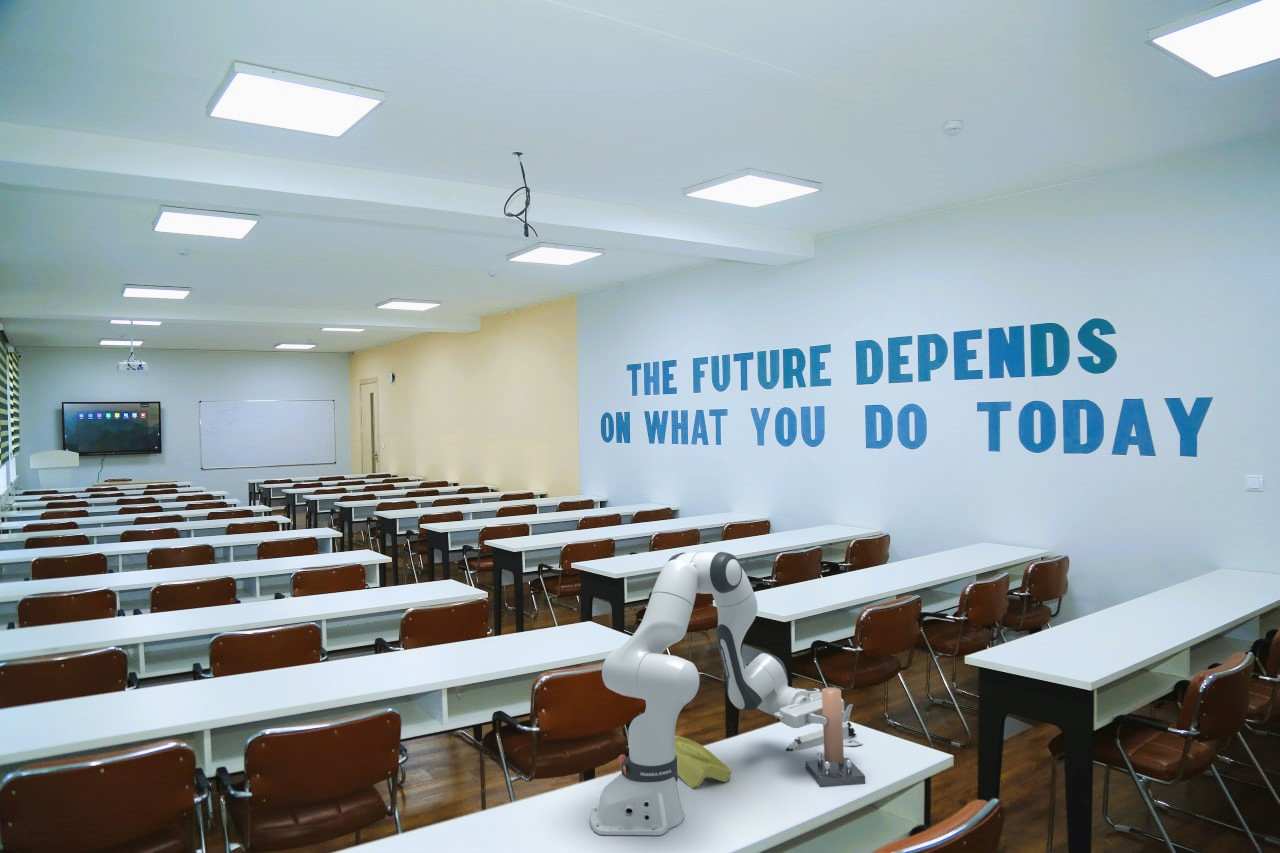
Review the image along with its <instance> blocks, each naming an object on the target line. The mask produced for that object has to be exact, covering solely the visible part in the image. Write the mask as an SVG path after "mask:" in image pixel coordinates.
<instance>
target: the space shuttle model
mask: <svg viewBox="0 0 1280 853" xmlns="http://www.w3.org/2000/svg"><path fill="white" fill-rule="evenodd" d="M853 705H854V703H848V704H847V706H845V708H844V713H845V718H843V719H842V726H843V748H844V747H845V748H847V747H848V748H853V747H854V748H856V747H861V746H862V745H863V743H861V742H860V741H858V740H857V739H856V738H854V737H856V736H857V733H855V732H856V730H855V729H854V728H853V727H852V724H851V722H850V721H849V720H850V717H851V712H852V708H853ZM815 747H824V733H823V729H818V730H816V731H814V732H809V733H806V734H803V735H800V736H797V737H796V738H794V740H793V741H792V742H791V743H789V744H788V746H787V747H786V748H785V751H787V752H794V751H795V752H796V751H801V750H806V749H811V748H815Z"/></svg>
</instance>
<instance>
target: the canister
mask: <svg viewBox="0 0 1280 853" xmlns="http://www.w3.org/2000/svg"><path fill="white" fill-rule="evenodd" d="M821 692H822V709H823V716H826V717H828V718H829V720H828V721H829V723H828V724H826V725H823V724H822V728H823V733H824V746H823V754H824V755H823V756H824V757H823V759H824V760H826V761H830V762H842V761H843V760H844V758H845V754H844V750H845V749H844V747H843V726H842V702H841V698H842V690H841V689H840V688H838V687H824V688H821Z"/></svg>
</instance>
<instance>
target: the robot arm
mask: <svg viewBox="0 0 1280 853" xmlns="http://www.w3.org/2000/svg"><path fill="white" fill-rule="evenodd" d="M697 594H700V595H701V594H703V595H705V594H709V595H711V594H712V598H713V600H714V603H715V606H716V609H717V628H716V632H715V634H716V642H717V646H718V650H719V655H720V659H721V662H722V667H723V671H724V676H725V681H726V692H727V696H728V700H729V701H730V703H731V704H732V706H733V707H734V708H736V709H737V710H739V711H744V712H754V711H756V710H757V709H758V710H760V711H761V712H764V713H766V714H769V715H772V716H773V718H776V719H779V721H780V723H781V724H783V725H785V726H787V727H790V728H792V729H799V728H802V727H806V726H809V725H811V724H815V725H816V724H817V725H818V724H819V725H822V726H823V725H826V724H828V723H829V721H828V720H829V718H828V717H826V716H823V709H822V691H821V690H820V689H819V688H816V687H815V688H794V687H792V686H789V685H788V684H789V678H788V674H787V668H786V666H785V664H784V662H783V661H782V660H781V658H780V657H778V656H776V655H774V654H772V653H768V652H761V653H760V654H759V655H757V656H756V657H755V658H754V659H752V661H751V662H750V663H749V664H747V666H744V662H743V658H742V652H741V647H742V643H743V641H744V638H745V636H746V634H747V632H748V630H749V629H750V627H751V626H752V624H753V623H754V621H755V620H756V617H757V613H758V601H757V596H756V594H755V592H754V590H753V587H752V584H751V582H750V580H749V577H748V576H747V574H746V571H744V569H743V567H742V565H741V562H740V561H739V559H738V558H737V557H736V556H735V555H734V554H732V553H729V552H725V551H719V552H714V551H703V550H699V551H691V552H690V551H689V552H679V553H677V554H674V555H672V556H671V557H670V558H669V559H668V561H667V562H666V563H665V564H664V565H663V567H662V569H661V571H660V573H659V574H658V576H657V579H656V581H655V584H654V586H653V589H652V591H651V595H650V598H649V601H648V604H647V607H646V609H645V613H644V615H643V618H642V620H641V622H640V624H639V626H638V627H637V629H636V630H635V632H633V634H632V636H631V637H630V638H629V639H628V640H627V641H626V642H625V643H624V644H622V645H621V646H619V648H617V649H615V650H613V651H611V652H610V653H609V654H608V655H607V656H606V657H605V659H604V661H603V663H602V668H601V677H602V681H603V683H604V685H605V687H606V689H608V690H610V691H613V692H614V693H616V694H618V695H621V696H624V697H628V698H629V697H630V698H635V699H640V700H644V701H645V710H644V712H643V713H640V714H639V715H637V716H636V717H634V718H633V719H632V721H631V723H630V724H629V727H628V751H629V752H628V756H626V755H625V754H620V755H619V756H618V759H617V760H618V763H619V765H620V770H621V772H620V774H618V775H617V776H616V777H615V778H614V779H613V780H611V781H610V782H609V783H607V784H606V785H605V786H604V787H603V789H602V791H601V794H600V797H599V802H598V804H597V805H595V806H594V807H593V808H592V809H591V812H590V815H589V823H590V826H591V829H592V830H593V832H595V833H596V834H597V835H603V836H663V835H664V834H665V833H666V832H668V830H670V829H672V828H674V827H676V826H678V825H679V824H681V822H682V821H683V820H684V818H685V813H684V810H683V806H682V803H681V798H680V794H679V787H678V781H679V776H678V760H677V757H676V754H675V736H676V726H677V722H678V721H677V720H678V717H679V715H680V713H681V711H682V709H683V708H684V707H685V706H686V705H687V704H688V703H690V702H691V701H692V700H693V699H694V697H696V695H697V693H698V690H699V688H700V675H699V671H698V669H697V667H696V665H695V663H694V662H692V661H690V660H687V659H685V658H682V657H680V656H677V655H671V654H664V652H665V651H666V650H667V649H668V648H669V647H671V646H672V645H674V644H677V643H679V642H680V641H681V640H682V639H683V638H684V637H685V636H686V633H687V630H688V628H689V627H688V626H689V625H690V624H689V623H690V621H691V615H692V612H693V608H694V607H695V606H694V605H695V601H696V598H697V597H696V596H697ZM841 702H842V719H843V718H845V713H844V710H845V701H844V699H843V698H842V697H841Z"/></svg>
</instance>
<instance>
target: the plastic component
mask: <svg viewBox="0 0 1280 853" xmlns="http://www.w3.org/2000/svg"><path fill="white" fill-rule="evenodd" d="M675 754H676V757H677V760H678V778H680V779H681V780H682V781H683V782H684V783H686V785H688V787H689V788H692V789H697V788H699V787H700V786H701V785H702V784H703V781H704V780H705V779H706V778H710V779H714V780H717V781H720V782H723V783H726V782H728V781H729V778H730V777H731V774H732V769H731V768H730V767H729V766H728V765H726V763H724V762H723V761H722V760H721V759H719V758H718V757H717V756H716V755H715V754H713V753H712V752H711V751H710V750H709V749H708V748H706V747H705V746H703V745H702V744H699V743H698V742H696V741H693V740H692V739H689V738H687V737H684V736H683V737H682V736H680V735H675Z"/></svg>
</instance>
